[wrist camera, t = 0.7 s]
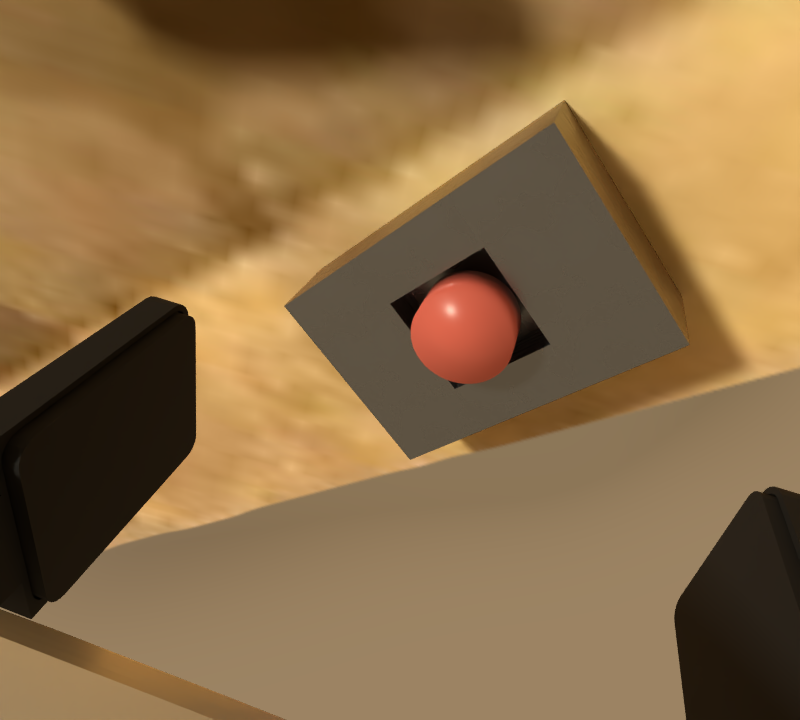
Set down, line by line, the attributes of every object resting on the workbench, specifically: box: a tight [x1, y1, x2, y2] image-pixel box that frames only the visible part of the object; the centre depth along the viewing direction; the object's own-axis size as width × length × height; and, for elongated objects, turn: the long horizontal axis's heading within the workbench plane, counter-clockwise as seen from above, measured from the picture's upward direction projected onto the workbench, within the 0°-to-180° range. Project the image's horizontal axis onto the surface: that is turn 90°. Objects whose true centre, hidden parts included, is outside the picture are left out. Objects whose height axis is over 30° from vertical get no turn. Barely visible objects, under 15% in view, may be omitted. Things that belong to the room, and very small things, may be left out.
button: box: [411, 270, 521, 384], centre depth 37 cm, size 6×6×3 cm
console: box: [285, 100, 690, 460], centre depth 40 cm, size 20×14×6 cm
